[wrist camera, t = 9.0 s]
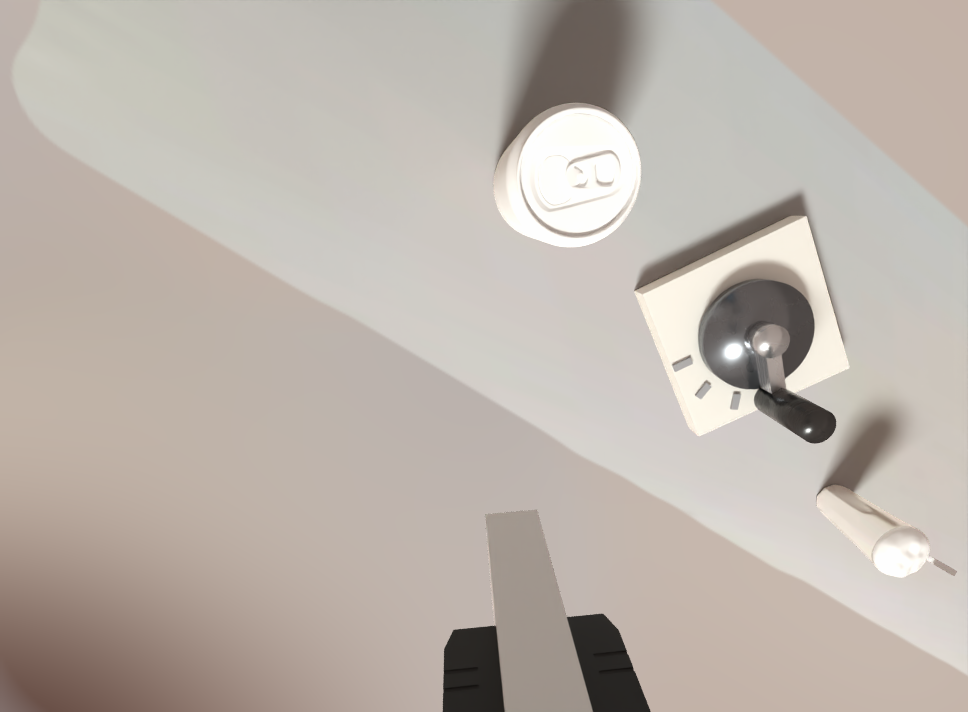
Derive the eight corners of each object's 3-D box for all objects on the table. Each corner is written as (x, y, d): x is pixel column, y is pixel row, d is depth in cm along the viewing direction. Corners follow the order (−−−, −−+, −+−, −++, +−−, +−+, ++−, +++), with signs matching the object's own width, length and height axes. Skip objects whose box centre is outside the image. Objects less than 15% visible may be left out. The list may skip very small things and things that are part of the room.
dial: (689, 297, 41) (736, 315, 34) (797, 264, 41) (868, 275, 34) (712, 421, 44) (760, 460, 37) (813, 391, 44) (880, 424, 37)
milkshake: (849, 524, 51) (942, 597, 41) (801, 514, 50) (884, 586, 40) (869, 484, 50) (969, 549, 40) (820, 473, 49) (909, 537, 39)
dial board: (634, 290, 43) (643, 294, 41) (790, 215, 42) (808, 216, 40) (688, 427, 47) (699, 437, 45) (833, 361, 46) (851, 368, 44)
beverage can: (486, 138, 39) (499, 108, 28) (589, 123, 39) (646, 87, 28) (500, 245, 41) (517, 258, 30) (598, 230, 42) (653, 238, 30)
